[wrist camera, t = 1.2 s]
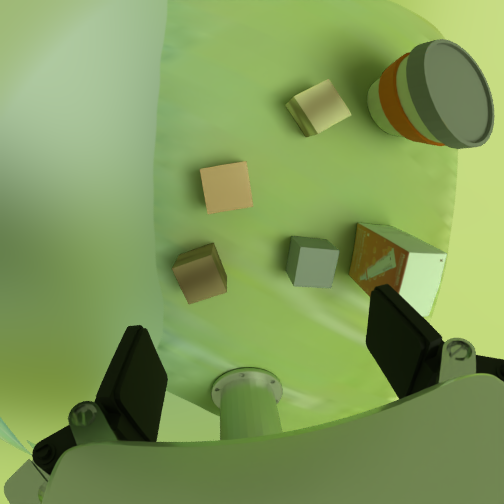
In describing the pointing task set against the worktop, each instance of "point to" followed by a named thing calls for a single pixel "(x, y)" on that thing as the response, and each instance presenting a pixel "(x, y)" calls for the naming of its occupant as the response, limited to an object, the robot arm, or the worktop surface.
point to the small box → (397, 264)
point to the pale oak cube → (318, 108)
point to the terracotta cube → (226, 187)
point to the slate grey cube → (311, 262)
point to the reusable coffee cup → (434, 97)
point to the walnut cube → (200, 273)
